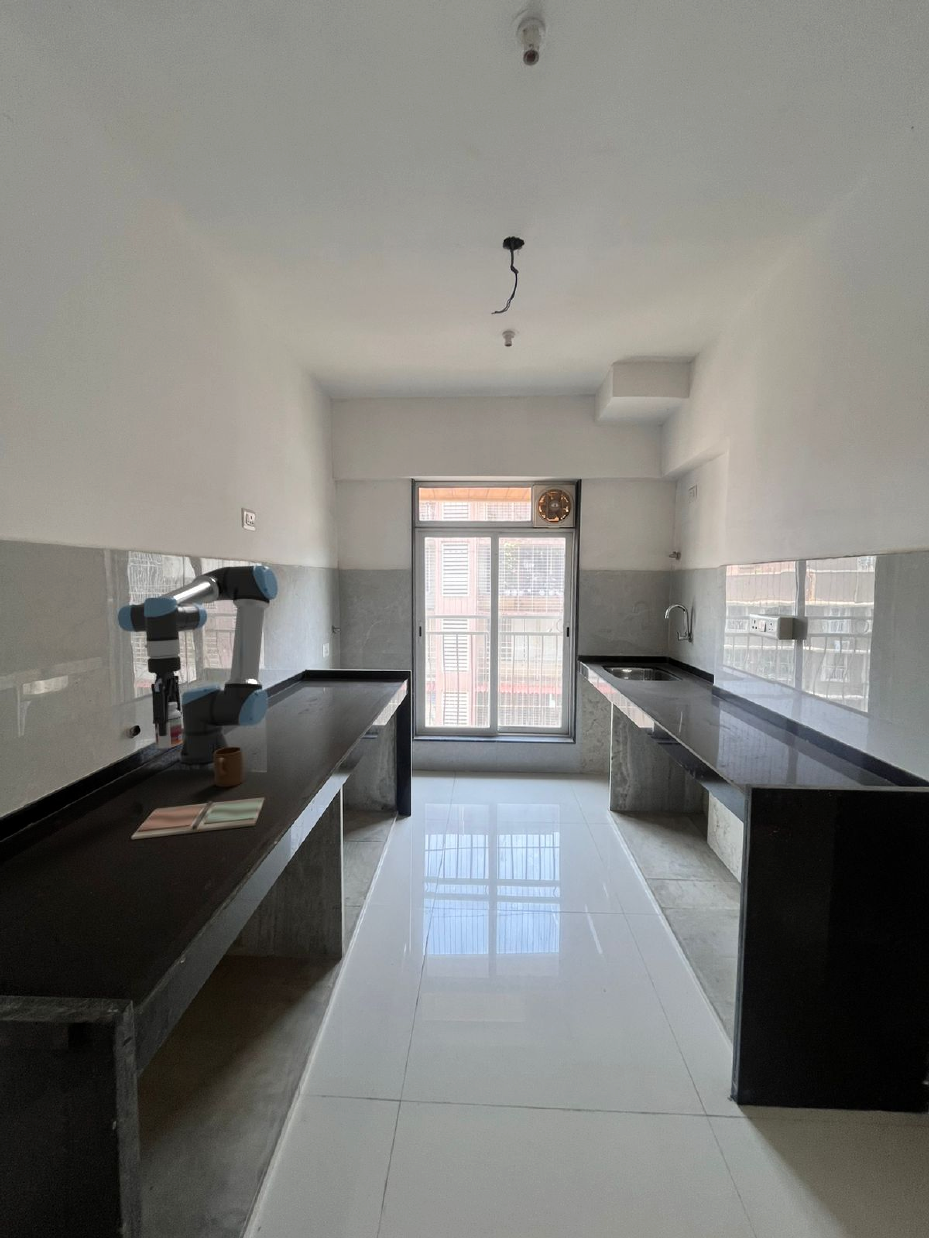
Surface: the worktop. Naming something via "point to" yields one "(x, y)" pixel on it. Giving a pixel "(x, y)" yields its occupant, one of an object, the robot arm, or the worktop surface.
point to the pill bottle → (173, 725)
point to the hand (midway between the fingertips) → (169, 743)
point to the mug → (228, 766)
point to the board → (200, 818)
